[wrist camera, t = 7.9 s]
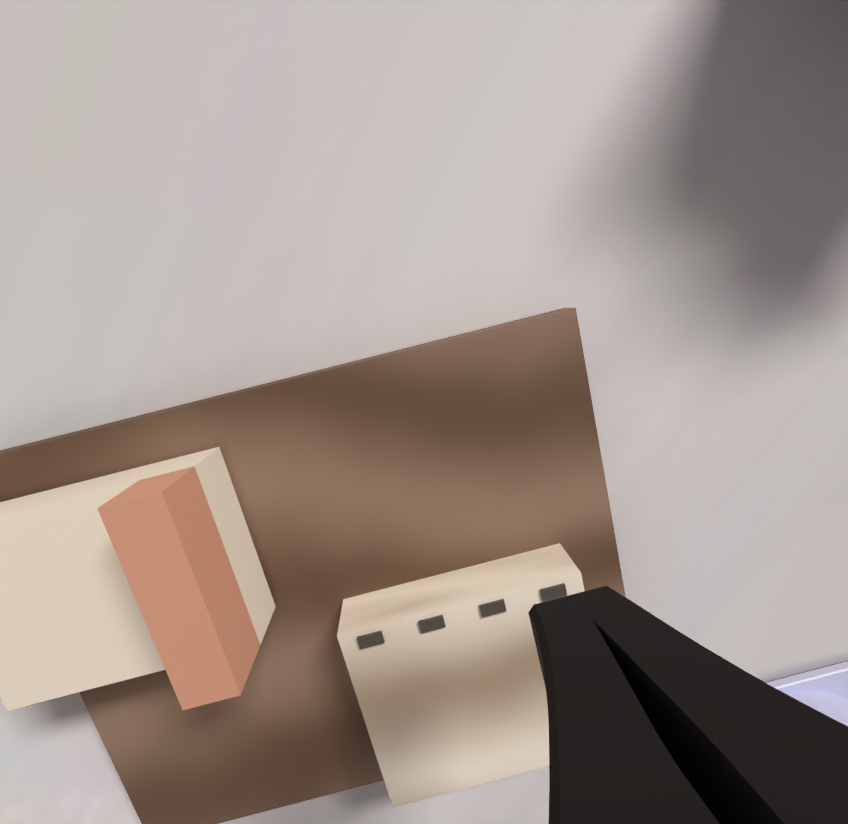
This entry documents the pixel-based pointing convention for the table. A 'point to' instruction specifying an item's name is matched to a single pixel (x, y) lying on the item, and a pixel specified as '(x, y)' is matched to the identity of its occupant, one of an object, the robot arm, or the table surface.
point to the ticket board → (371, 570)
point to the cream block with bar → (131, 585)
